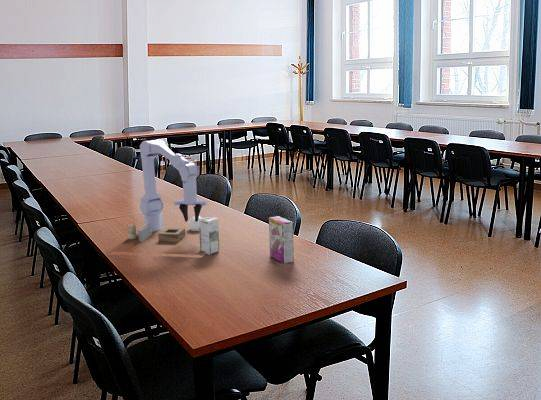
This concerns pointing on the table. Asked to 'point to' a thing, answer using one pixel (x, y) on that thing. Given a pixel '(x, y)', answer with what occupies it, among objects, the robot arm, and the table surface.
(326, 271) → the table surface
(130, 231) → the birch dowel
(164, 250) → the table surface
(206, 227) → the syrup box
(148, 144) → the robot arm
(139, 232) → the backstop board
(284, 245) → the candy bar box
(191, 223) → the motion sensor
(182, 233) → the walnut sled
